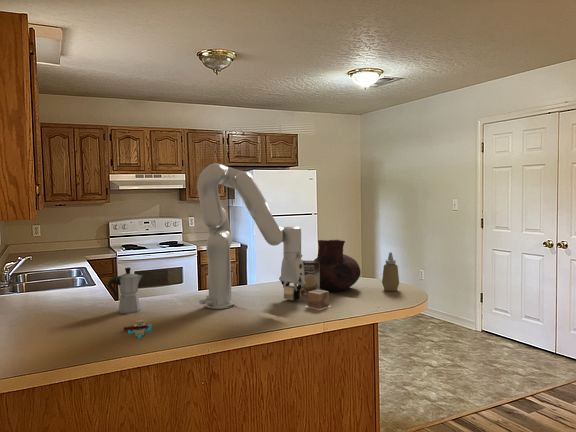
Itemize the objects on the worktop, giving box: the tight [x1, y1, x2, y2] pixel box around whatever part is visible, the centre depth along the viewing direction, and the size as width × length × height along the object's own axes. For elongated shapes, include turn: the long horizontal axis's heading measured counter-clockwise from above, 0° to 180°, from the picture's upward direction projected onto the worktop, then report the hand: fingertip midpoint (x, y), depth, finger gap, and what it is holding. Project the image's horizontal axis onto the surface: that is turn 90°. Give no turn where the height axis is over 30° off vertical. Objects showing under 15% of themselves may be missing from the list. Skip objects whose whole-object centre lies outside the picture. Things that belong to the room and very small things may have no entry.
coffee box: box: [300, 260, 321, 296], centre depth 210 cm, size 9×6×16 cm
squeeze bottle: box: [381, 251, 400, 292], centre depth 219 cm, size 8×8×18 cm
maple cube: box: [283, 284, 295, 301], centre depth 198 cm, size 5×5×5 cm
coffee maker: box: [107, 267, 143, 315], centre depth 190 cm, size 15×9×18 cm, turn 135°
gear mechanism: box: [123, 315, 152, 340], centre depth 166 cm, size 20×5×9 cm
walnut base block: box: [307, 289, 330, 310], centre depth 188 cm, size 6×6×6 cm
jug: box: [313, 239, 361, 292], centre depth 224 cm, size 25×25×25 cm
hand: (292, 297), depth 198 cm, fingers closed on maple cube, 4 cm apart
